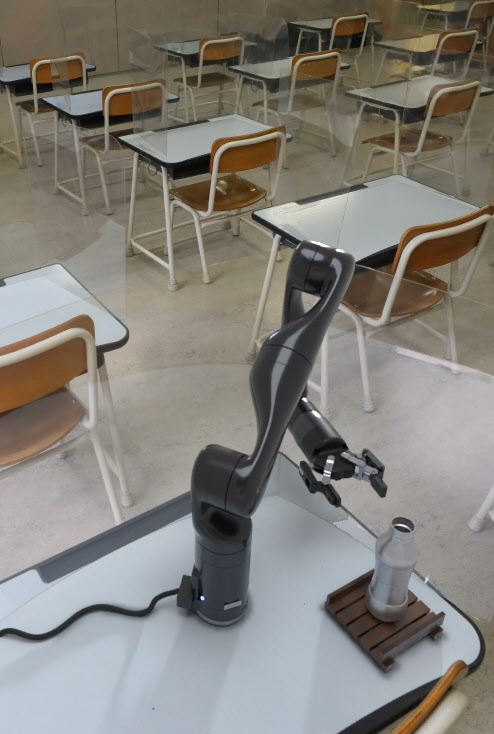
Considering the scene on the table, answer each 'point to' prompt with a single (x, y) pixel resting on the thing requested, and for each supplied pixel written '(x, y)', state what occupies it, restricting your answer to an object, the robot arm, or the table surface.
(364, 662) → the table surface
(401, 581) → the silver metal bottle
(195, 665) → the table surface
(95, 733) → the table surface
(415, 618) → the wooden slatted rack
